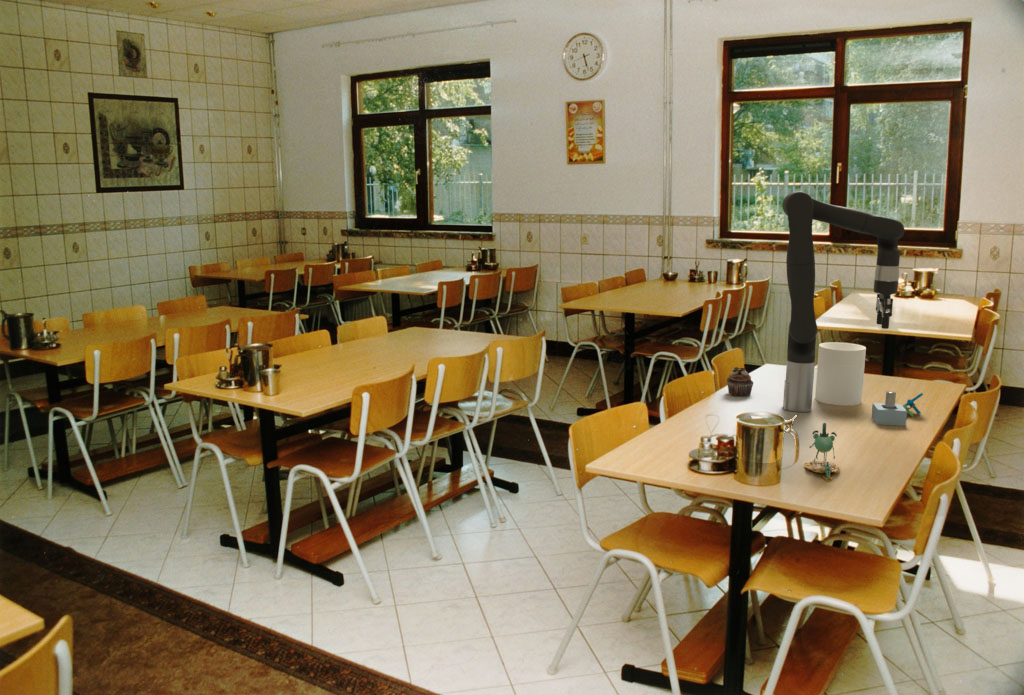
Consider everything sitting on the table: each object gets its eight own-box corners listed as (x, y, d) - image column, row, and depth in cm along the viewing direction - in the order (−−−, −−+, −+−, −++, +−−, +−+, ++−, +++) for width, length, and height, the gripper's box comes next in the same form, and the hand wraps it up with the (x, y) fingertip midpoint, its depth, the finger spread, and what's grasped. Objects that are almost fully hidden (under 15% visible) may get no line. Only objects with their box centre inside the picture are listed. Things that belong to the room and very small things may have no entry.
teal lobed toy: (903, 403, 313) (925, 388, 306) (915, 416, 312) (936, 401, 304) (889, 412, 306) (910, 397, 299) (901, 426, 304) (923, 411, 297)
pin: (884, 422, 295) (887, 393, 293) (882, 420, 298) (885, 391, 296) (894, 422, 294) (896, 393, 292) (892, 420, 297) (894, 391, 295)
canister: (854, 395, 331) (858, 342, 327) (867, 406, 316) (871, 351, 312) (810, 394, 333) (814, 341, 329) (820, 404, 317) (824, 349, 313)
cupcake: (754, 397, 327) (755, 371, 325) (727, 396, 328) (728, 370, 326) (751, 391, 336) (752, 365, 334) (725, 390, 337) (726, 364, 336)
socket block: (876, 424, 292) (877, 409, 291) (871, 417, 301) (872, 402, 300) (905, 425, 291) (907, 411, 290) (899, 418, 299) (901, 404, 298)
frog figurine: (800, 479, 239) (803, 425, 238) (805, 466, 256) (808, 416, 254) (838, 483, 235) (841, 428, 234) (840, 470, 252) (844, 419, 251)
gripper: (870, 276, 307) (866, 322, 310) (878, 280, 293) (874, 329, 296) (893, 277, 305) (889, 323, 308) (903, 281, 291) (898, 330, 295)
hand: (882, 326), depth 302 cm, fingers open, 8 cm apart
